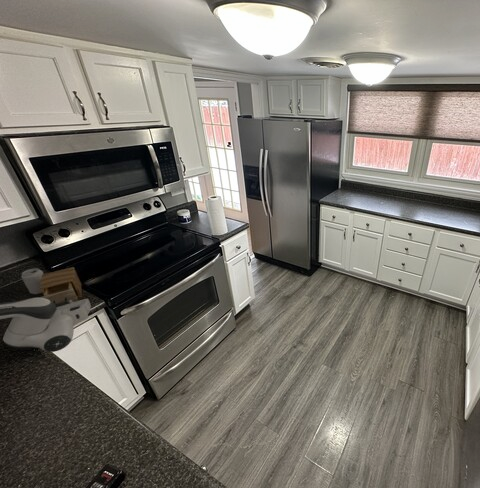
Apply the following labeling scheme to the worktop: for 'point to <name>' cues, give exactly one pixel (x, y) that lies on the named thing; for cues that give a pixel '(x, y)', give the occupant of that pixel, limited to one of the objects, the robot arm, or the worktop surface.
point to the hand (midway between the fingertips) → (60, 304)
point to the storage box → (61, 280)
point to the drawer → (61, 294)
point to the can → (32, 280)
